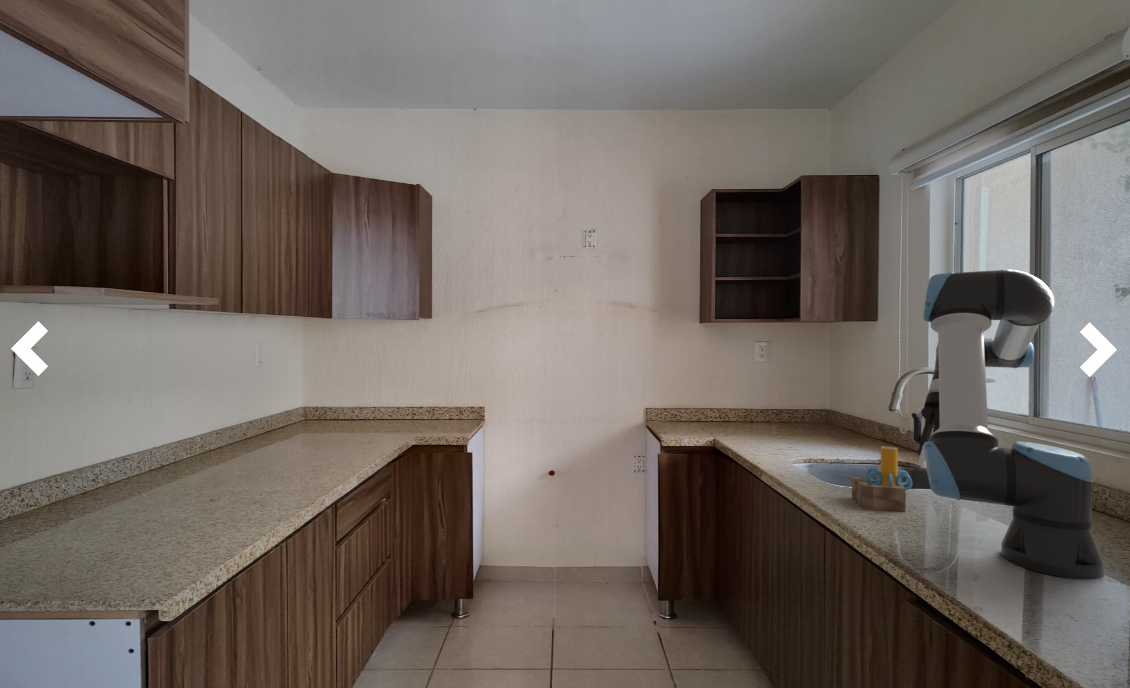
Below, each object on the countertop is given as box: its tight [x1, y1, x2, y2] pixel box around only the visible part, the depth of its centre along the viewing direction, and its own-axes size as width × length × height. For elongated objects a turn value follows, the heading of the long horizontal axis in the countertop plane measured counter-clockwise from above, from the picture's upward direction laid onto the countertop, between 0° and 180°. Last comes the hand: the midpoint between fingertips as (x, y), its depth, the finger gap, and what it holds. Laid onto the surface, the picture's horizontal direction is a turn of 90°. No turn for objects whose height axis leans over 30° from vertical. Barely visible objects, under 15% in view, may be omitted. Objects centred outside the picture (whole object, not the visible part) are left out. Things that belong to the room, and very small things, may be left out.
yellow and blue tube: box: [866, 445, 914, 491], centre depth 147 cm, size 12×10×15 cm
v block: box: [851, 476, 907, 513], centre depth 143 cm, size 9×14×6 cm, turn 32°
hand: (922, 466), depth 155 cm, fingers closed
